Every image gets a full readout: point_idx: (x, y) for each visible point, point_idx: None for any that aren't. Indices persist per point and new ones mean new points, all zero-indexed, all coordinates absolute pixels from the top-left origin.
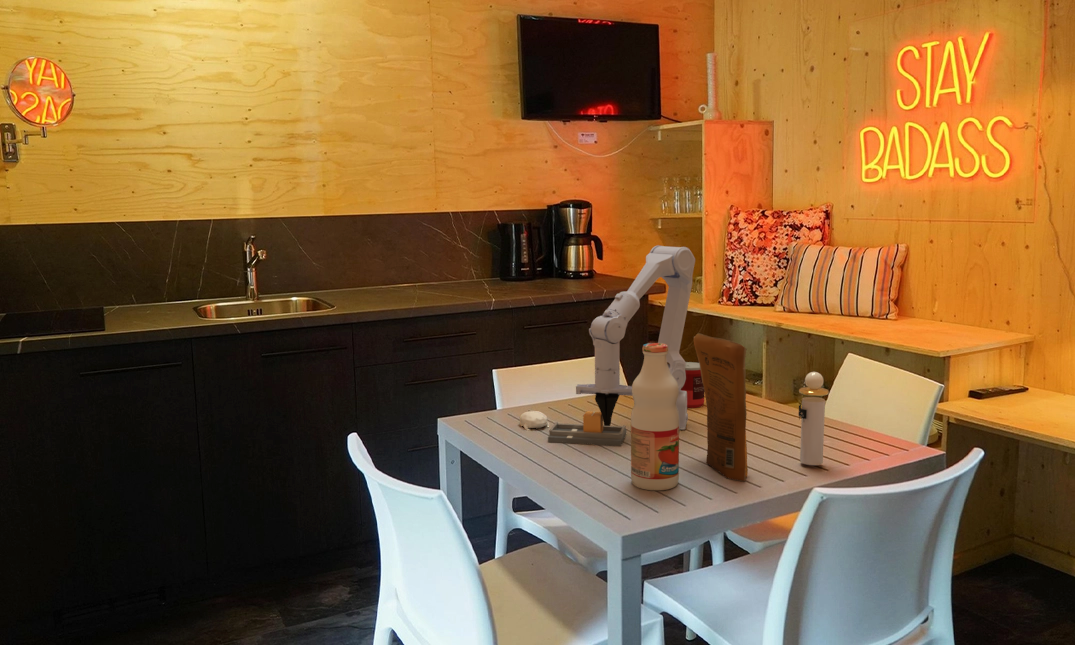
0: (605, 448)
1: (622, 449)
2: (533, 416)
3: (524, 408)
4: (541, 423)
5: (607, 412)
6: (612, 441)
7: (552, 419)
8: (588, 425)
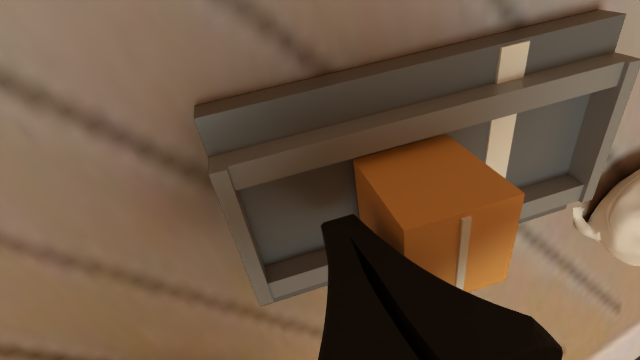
0: (265, 20)
1: (147, 44)
2: None
3: (627, 317)
4: (634, 185)
5: (363, 279)
6: (248, 102)
7: (559, 283)
8: (447, 166)
